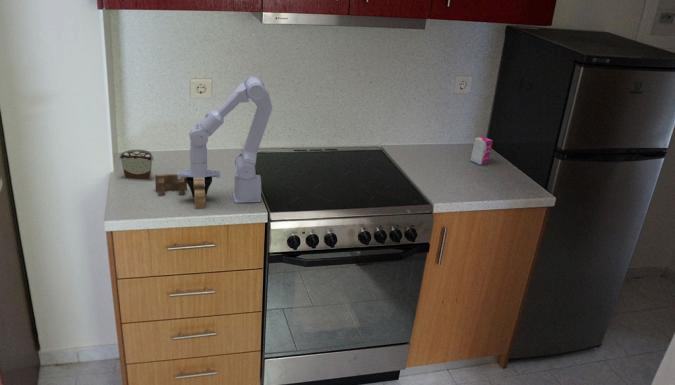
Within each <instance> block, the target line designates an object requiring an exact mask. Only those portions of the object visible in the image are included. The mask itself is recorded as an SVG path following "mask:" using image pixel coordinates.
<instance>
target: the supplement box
mask: <svg viewBox="0 0 675 385" xmlns="http://www.w3.org/2000/svg"><path fill="white" fill-rule="evenodd" d="M493 141H494V140H493V139H490V138H488V137H486V136H479V137H475V139H474V143H473V146H472V147H473V148H472V152H471V157H470V161H471V163H473V164H475V163H476V164H475V165H477V164H478V166H484V165H487V164H488V162H489V158H490V155H491V150H492V145H493ZM470 161H469V162H470Z"/></svg>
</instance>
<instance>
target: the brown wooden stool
mask: <svg viewBox="0 0 675 385" xmlns="http://www.w3.org/2000/svg"><path fill="white" fill-rule="evenodd" d="M154 180H155V182H154V183H155V192H158V196H159V197H163V196H165V192H169V191H170V192H171V191H178V196H184V195H185V196H186V194H185V191H188V184H187V182H186V178H181V179H178V173H174V174H173V173H170V174H169V173H168V174H167V173H166V174H163V173H162V174H155V175H154Z"/></svg>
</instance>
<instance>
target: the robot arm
mask: <svg viewBox="0 0 675 385" xmlns="http://www.w3.org/2000/svg"><path fill="white" fill-rule="evenodd" d="M250 101H251V102H253V103H254V104H255V106H256V110H255V112H254V115H253V119H252V121H251V125H250V127H249V131H248V133H247V137H246V140H245V142H244V146H243V148H242V149H241V150H240V153H239V154H238V155H237V156H236V157H235V160H234V165H235V166H236V171H235V173H234V192H232V198H233V201H234V203H235V204H238V203H241V204H242V203H243V204H244V203H261V202H262V176H261V175H260V174H256V163H257V157H258V156H257V155H258V151H259V149H260V145H261V142H262V139H263V136H264V134H265V131H266V128H267V124H268V123H269V119H270V116H271V114H272V110H273V105H272V100H271V97H270V93H269V91H268V89H267V87H266V85H265V83H264V82H263V81H262V79H261V78H259V77H258V76H257V75H256V76H255V75H251V76H248V77H247V78H246V79H245V80H244V82H241V83H240V84H239V85H238V87H236V89H235V90H234V91H233V92H232V93H231V95H230V96H228V98H227V99H226V100H225V101H224V102H223V103H222V104H221V105H220V106H219V107H218V109H217V110H216V109H215V110H210V111H209V112H208V111H207V112H206V113H205V114H204V117H203V119H201V120H200V122H196V123H195V126H192V127H191V129H190V131H189V133H188V135H189V142H190V143H189V146H190V148H189V157H190V159H189V161H190V169H189V170H183V171H177V174H178V179H181V178H186V182H187V186H188V187H189V190H190V191H191V197H192V198H194V179H203V181H204V188H205V196H206V198H207V196H208V191H209V188H210V186H211V185H212V182H213V178H217V179H220V178H221V171H220V170H212V169H208V147H207V143H208V141H209V137H211V136H212V135H213V134H214V133H215V132H216V131H218V129H219V128H220V127H222V125H223V124H224V123H225V120H224V119H225V117H226V116H228V114H230V113H231V112H232V111H233V110H234V109H236V107H237V106H238V105H239V104H241V103H250Z"/></svg>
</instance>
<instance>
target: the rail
mask: <svg viewBox="0 0 675 385" xmlns="http://www.w3.org/2000/svg"><path fill="white" fill-rule="evenodd" d="M193 179H194V197H193V199H194V200H193V201H194V209H195V210H199V209H200V210H201V209H202V210H203V209H206V208H207V207H206V205H207V204H206V203H207V202H206V201H207V200H206V198H207V197H206V196H205V188H204V187H205V183H204V178H193Z"/></svg>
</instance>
